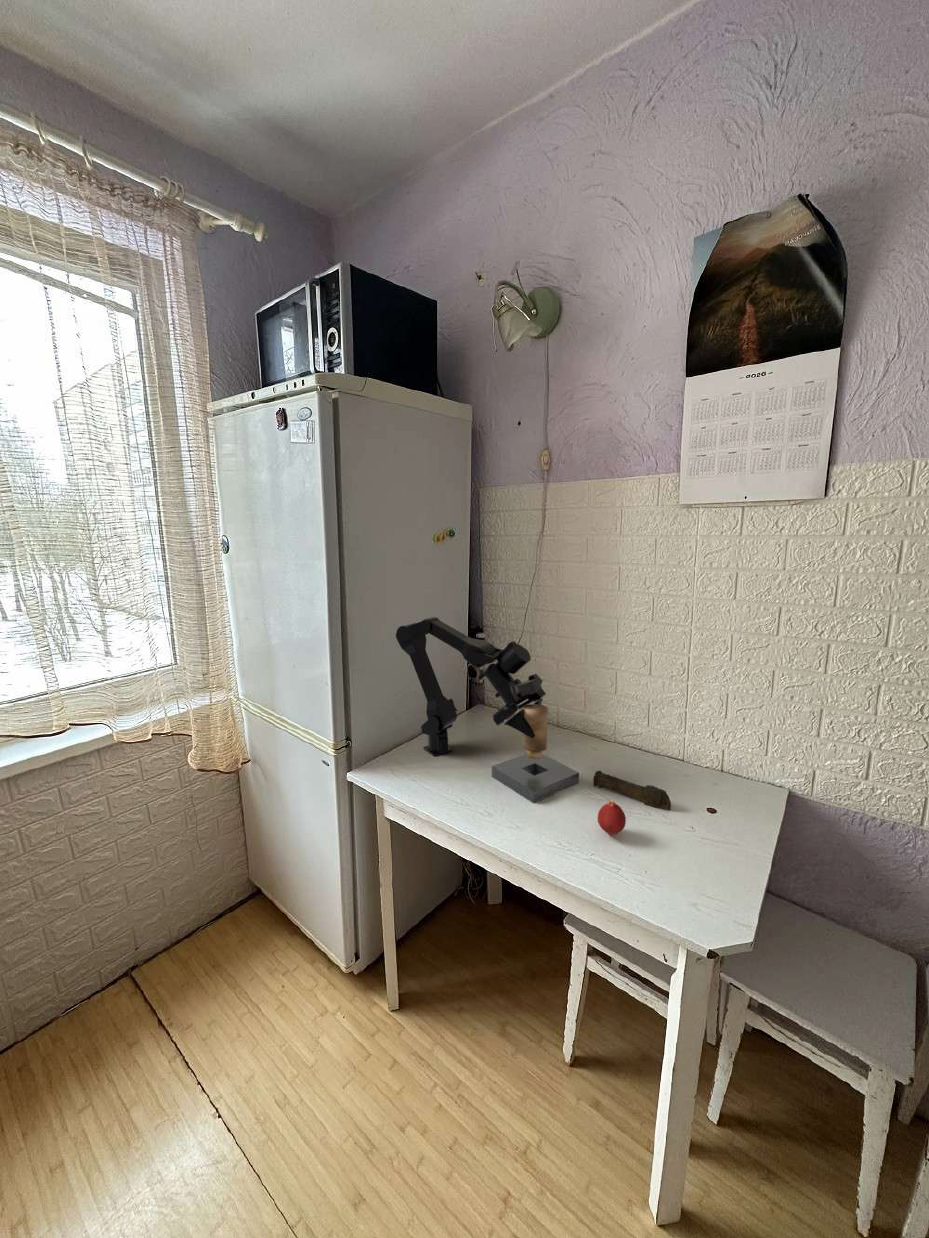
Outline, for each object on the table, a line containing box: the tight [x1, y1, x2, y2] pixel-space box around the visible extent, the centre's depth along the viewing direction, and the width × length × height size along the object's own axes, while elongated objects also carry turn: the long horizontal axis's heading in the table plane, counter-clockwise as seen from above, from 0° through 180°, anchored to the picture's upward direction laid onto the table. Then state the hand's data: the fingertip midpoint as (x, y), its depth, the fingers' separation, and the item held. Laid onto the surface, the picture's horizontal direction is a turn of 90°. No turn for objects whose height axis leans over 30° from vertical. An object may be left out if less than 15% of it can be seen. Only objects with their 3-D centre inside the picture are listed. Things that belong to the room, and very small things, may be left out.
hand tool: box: [592, 770, 672, 811], centre depth 123 cm, size 19×4×5 cm, turn 46°
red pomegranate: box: [597, 800, 627, 836], centre depth 108 cm, size 6×6×8 cm
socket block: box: [491, 753, 580, 804], centre depth 131 cm, size 16×16×3 cm
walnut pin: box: [522, 704, 549, 759], centre depth 129 cm, size 6×6×13 cm
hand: (539, 733), depth 128 cm, fingers closed on walnut pin, 6 cm apart
